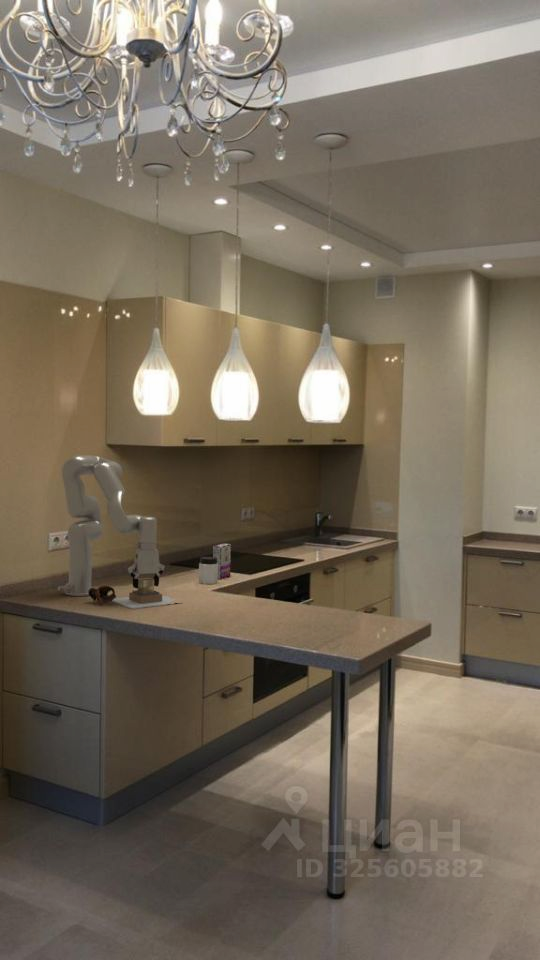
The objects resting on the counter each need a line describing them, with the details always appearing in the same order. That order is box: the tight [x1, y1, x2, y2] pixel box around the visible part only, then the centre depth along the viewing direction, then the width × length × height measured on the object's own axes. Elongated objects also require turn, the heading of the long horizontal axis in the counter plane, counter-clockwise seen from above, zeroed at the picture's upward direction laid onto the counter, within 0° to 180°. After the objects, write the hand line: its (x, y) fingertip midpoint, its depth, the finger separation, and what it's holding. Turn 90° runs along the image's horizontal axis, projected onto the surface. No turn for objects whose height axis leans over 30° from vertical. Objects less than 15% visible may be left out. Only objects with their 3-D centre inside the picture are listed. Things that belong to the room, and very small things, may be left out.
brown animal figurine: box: [88, 585, 117, 606], centre depth 347 cm, size 12×10×8 cm
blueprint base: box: [110, 589, 176, 610], centre depth 352 cm, size 24×20×4 cm
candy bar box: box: [212, 543, 232, 580], centre depth 419 cm, size 11×5×16 cm, turn 156°
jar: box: [198, 556, 218, 585], centre depth 403 cm, size 9×8×12 cm
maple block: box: [137, 577, 155, 594], centre depth 352 cm, size 5×5×6 cm
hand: (145, 586), depth 352 cm, fingers open, 9 cm apart
